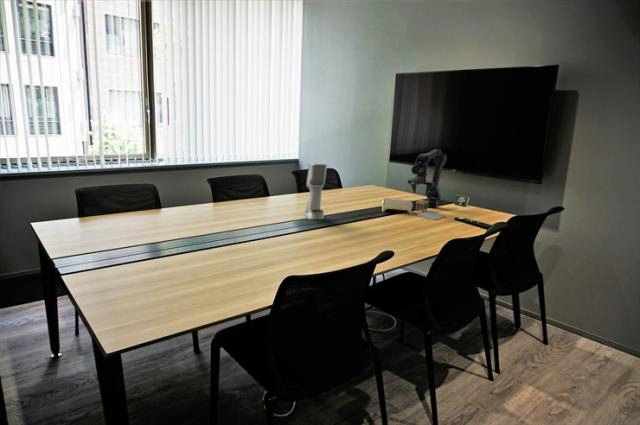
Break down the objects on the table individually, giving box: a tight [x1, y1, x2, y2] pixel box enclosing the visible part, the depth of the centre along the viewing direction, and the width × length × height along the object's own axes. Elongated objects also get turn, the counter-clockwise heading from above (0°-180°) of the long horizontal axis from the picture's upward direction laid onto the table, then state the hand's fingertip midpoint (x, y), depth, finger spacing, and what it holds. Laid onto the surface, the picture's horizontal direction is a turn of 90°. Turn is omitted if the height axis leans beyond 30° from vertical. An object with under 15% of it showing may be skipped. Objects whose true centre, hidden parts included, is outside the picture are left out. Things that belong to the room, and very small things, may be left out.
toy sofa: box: [381, 197, 414, 215], centre depth 294 cm, size 21×9×10 cm, turn 84°
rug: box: [415, 211, 446, 221], centre depth 288 cm, size 16×14×1 cm
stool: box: [415, 199, 429, 213], centre depth 300 cm, size 6×6×7 cm
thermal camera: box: [303, 163, 328, 221], centre depth 265 cm, size 12×13×35 cm
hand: (420, 194), depth 295 cm, fingers open, 9 cm apart
